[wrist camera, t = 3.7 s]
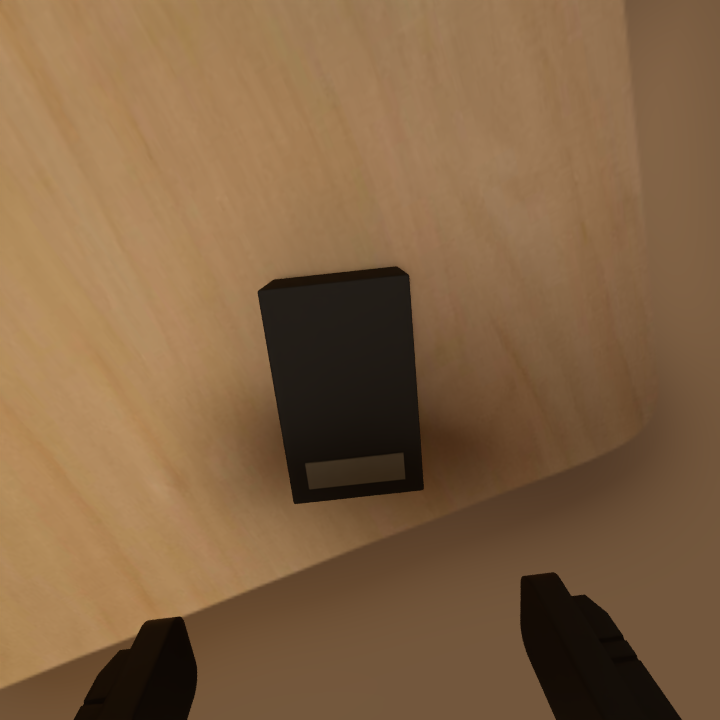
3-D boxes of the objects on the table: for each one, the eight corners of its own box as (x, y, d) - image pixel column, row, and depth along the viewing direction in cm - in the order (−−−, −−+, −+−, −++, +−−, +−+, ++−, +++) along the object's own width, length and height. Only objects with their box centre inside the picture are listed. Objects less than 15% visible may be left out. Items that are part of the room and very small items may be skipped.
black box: (398, 266, 19) (409, 274, 15) (411, 450, 22) (424, 491, 18) (272, 279, 19) (256, 291, 15) (301, 462, 22) (293, 506, 18)
